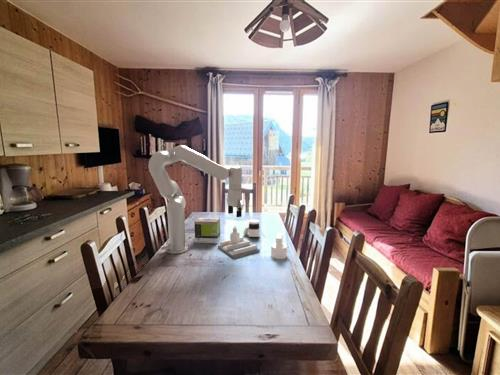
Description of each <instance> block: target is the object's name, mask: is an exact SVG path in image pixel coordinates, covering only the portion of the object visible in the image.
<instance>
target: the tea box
mask: <svg viewBox="0 0 500 375" xmlns="http://www.w3.org/2000/svg"><path fill="white" fill-rule="evenodd" d="M193 222H194V223H193V225H194V243H196V244H219V242H220V240H221V218H220V217H198V218H197V219H196V220H194V221H193Z"/></svg>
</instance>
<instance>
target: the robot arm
mask: <svg viewBox="0 0 500 375" xmlns="http://www.w3.org/2000/svg"><path fill="white" fill-rule="evenodd" d="M180 161H181V162H183V163H185V164H187V165H189V166H191V167H193V168H196V169H198V170H199V171H201V172H204V173H206V174H207V175H209V176H211V177H213V178H216V179H218V180H219V181H225V180H228V189H227V199H226V203H227V211H228V212H227V214H229V215H230V214H233V213H234V208H236V215H235V216H236V218H241V217H242V214H243V212H242V211H243V208H244V203H243V197H242V195H243V194H242V185H243V184H242V182H243V180H242V179H243V178H242V175H243V172H242V171H243V169H242V167H241V166H227V165H220V164H218V163H216V162H215V161H213V160H212V159H210V158H208V157H207V156H206V155H204V154H202V153H200V152H198V151H196V150H194V149H191V148H190V147H188V146H187V145H183V144H179V145H177V146H175V147H172V148H169V149H165V150H158V151H155V152H154V153H153V154H152V156H151V157H150V158H149V161H148V171H149V173H150V176H151V177H152V179H153V182H154V184H155V186H156V187H157V190H158V191H159V194H160V196H161V197H163V198H164V199H167V201H168V203H167V205H166V213H167V214H166V215H167V225H168V226H167V228H168V231H167V232H168V242H167V244H166V245H161V246H160V250H164V251H166V252H167V253H168V254H171V255H176V254H177V255H179V254H183V253H186V252H187V251H188V250H189V246H188V245H186V224H185V223H186V222H185V220H186V219H185V208H186V205H187V201H186V199H185V196H184V194H183V193H182V190H181V188H180V187H179V185H178V183H177V182H176V181H175V180H172V179H171V177H170V176H169V174H168V172H167V169H166V168H165V167H166V166H168V165H170V164H174V163H176V162H180Z"/></svg>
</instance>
